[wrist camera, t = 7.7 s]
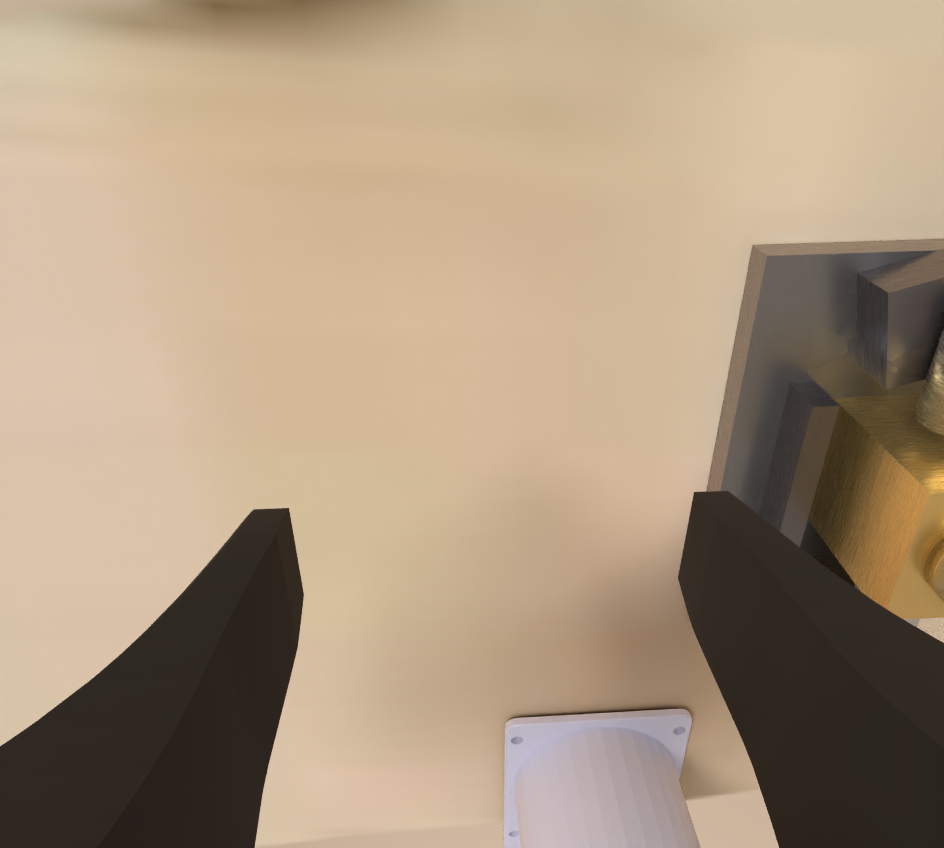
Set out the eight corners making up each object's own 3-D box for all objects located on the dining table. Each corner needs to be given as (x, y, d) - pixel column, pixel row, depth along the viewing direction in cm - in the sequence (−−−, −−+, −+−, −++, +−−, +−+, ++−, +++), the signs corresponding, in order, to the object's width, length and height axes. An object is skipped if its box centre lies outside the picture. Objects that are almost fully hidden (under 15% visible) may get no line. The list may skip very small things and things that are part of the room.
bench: (929, 607, 29) (1009, 705, 25) (682, 620, 28) (724, 721, 24) (1103, 199, 21) (1264, 248, 17) (759, 209, 20) (840, 262, 16)
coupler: (916, 505, 25) (1034, 629, 20) (801, 511, 25) (893, 636, 20) (958, 392, 22) (1103, 501, 18) (833, 397, 22) (945, 508, 18)
